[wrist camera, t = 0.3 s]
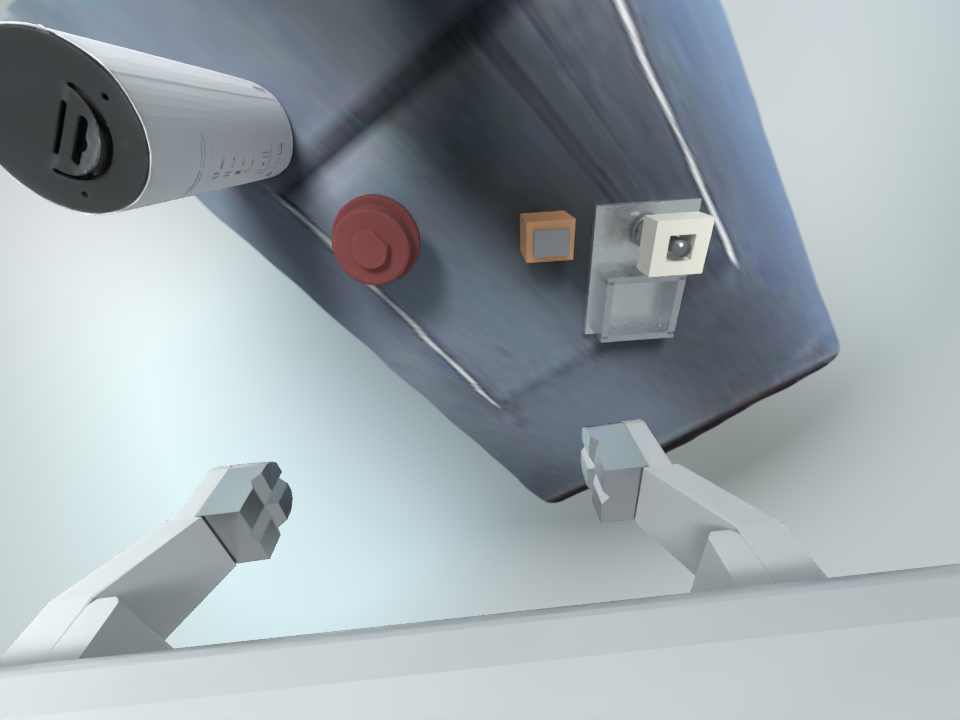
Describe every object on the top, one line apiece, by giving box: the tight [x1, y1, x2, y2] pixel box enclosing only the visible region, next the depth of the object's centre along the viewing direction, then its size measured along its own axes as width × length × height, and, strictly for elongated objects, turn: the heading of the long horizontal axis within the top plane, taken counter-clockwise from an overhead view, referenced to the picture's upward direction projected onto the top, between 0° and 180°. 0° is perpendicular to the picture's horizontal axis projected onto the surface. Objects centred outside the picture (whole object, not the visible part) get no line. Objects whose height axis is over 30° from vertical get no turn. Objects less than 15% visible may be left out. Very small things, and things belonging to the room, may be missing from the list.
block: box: [520, 210, 576, 263], centre depth 50 cm, size 5×6×7 cm
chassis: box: [583, 197, 702, 343], centre depth 52 cm, size 19×14×12 cm
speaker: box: [0, 21, 293, 215], centre depth 35 cm, size 11×10×26 cm
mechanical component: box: [332, 194, 420, 285], centre depth 47 cm, size 12×10×10 cm
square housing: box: [637, 211, 715, 277], centre depth 46 cm, size 6×6×4 cm
